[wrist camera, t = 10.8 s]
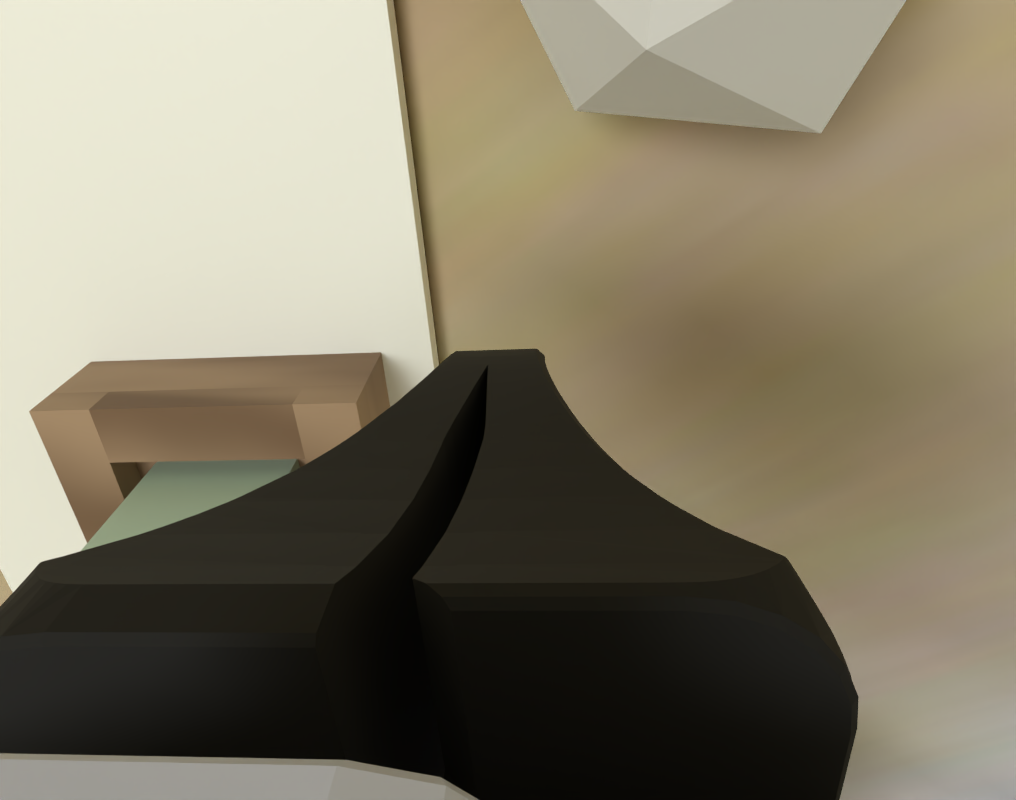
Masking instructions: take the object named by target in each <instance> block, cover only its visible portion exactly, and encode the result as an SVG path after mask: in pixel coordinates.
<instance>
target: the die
mask: <svg viewBox="0 0 1016 800" xmlns="http://www.w3.org/2000/svg"><path fill="white" fill-rule="evenodd" d="M520 1H521V3H522V5H523V7H524V9H525V11H526V13H527V15H528V17H529V19H530V21H531V23H532V25H533V27H534V29H535V31H536V33H537V35H538V37H539V39H540V41H541V43H542V45H543V47H544V49H545V51H546V53H547V55H548V57H549V59H550V61H551V63H552V65H553V67H554V69H555V72H556V74H557V76H558V78H559V80H560V82H561V84H562V86H563V88H564V90H565V92H566V94H567V96H568V98H569V100H570V102H571V104H572V106H573V108H574V110H575V111H583V112H594V113H605V114H616V115H626V116H637V117H648V118H659V119H670V120H681V121H691V122H702V123H713V124H724V125H735V126H746V127H757V128H767V129H778V130H789V131H800V132H811V133H821V132H822V131H823V129H824V128H825V126H826V125H827V123H828V122H829V120H830V118H831V117H832V115H833V114H834V112H835V111H836V109H837V108H838V106H839V104H840V103H841V101H842V100H843V98H844V97H845V95H846V94H847V92H848V90H849V89H850V87H851V86H852V84H853V83H854V81H855V79H856V78H857V76H858V75H859V73H860V72H861V70H862V69H863V67H864V65H865V64H866V62H867V61H868V59H869V58H870V56H871V55H872V53H873V51H874V50H875V48H876V47H877V45H878V44H879V42H880V41H881V39H882V37H883V36H884V34H885V33H886V31H887V30H888V28H889V26H890V25H891V23H892V22H893V20H894V19H895V17H896V16H897V14H898V12H899V11H900V9H901V8H902V6H903V5H904V3H905V2H906V0H520Z"/></svg>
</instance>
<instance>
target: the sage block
mask: <svg viewBox="0 0 1016 800" xmlns="http://www.w3.org/2000/svg"><path fill="white" fill-rule="evenodd" d="M298 468H300V466H299V462H298V459H273V460H221V461H168V462H156V463H155V464H154V466H153V467H152V468H151V469H150V470H149V471H148V473H147V474H146V475H145V476H144V477H143V478H142V480H141V481H140V482H139V483H138V484H137V486H136V487H135V488H134V489H133V490H132V491H131V493H130V494H129V495H128V496H127V497H126V498H125V500H124V501H123V502H122V503H121V504H120V505H119V507H118V508H117V509H116V510H115V511H114V512H113V514H112V515H111V516H110V517H109V518H108V520H107V521H106V522H105V523H104V524H103V525H102V527H101V528H100V529H99V530H98V531H97V532H96V534H95V535H94V536H93V537H92V538H91V539H90V541H89V542H88V543H87V544H86V545H85V546H84V548H83V549H82V550H81V551H83V550H87V549H90V548H94V547H97V546H101V545H104V544H108V543H111V542H115V541H118V540H122V539H125V538H129V537H132V536H136V535H139V534H142V533H145V532H148V531H151V530H154V529H157V528H160V527H163V526H166V525H169V524H171V523H174V522H177V521H180V520H183V519H185V518H188V517H191V516H194V515H196V514H199V513H202V512H204V511H207V510H209V509H212V508H214V507H217V506H219V505H222V504H224V503H227V502H229V501H231V500H234V499H236V498H238V497H241V496H243V495H245V494H247V493H249V492H251V491H253V490H255V489H257V488H259V487H261V486H264V485H266V484H268V483H270V482H272V481H274V480H276V479H278V478H280V477H282V476H284V475H286V474H289V473H291V472H293V471H295V470H296V469H298Z"/></svg>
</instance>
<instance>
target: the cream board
mask: <svg viewBox="0 0 1016 800" xmlns="http://www.w3.org/2000/svg"><path fill="white" fill-rule="evenodd" d="M375 352H381V354H382V360H383V366H384V372H385V378H386V384H387V390H388V397H389V403H390V407H391V406H392V405H394V404H395V403H396V402H397V401H399V400H400V399H401V398H402V397H403V396H404V395H406V394H407V393H408V392H409V391H410V390H411V389H413V388H414V387H415V386H416V385H417V384H418V383H419V382H421V381H422V380H423V379H424V378H425V377H426V376H427V375H429V374H430V373H431V372H432V371H433V370H434V369H435V368H436V367H437V366H439V361H438V353H437V345H436V337H435V329H434V321H433V313H432V305H431V297H430V289H429V281H428V273H427V265H426V257H425V249H424V241H423V233H422V225H421V217H420V209H419V201H418V193H417V185H416V177H415V169H414V161H413V153H412V145H411V137H410V129H409V121H408V113H407V105H406V97H405V89H404V81H403V73H402V65H401V57H400V49H399V41H398V33H397V25H396V17H395V9H394V1H393V0H0V569H1V571H2V573H3V575H4V577H5V579H6V581H7V583H8V585H9V586H10V588H11V590H12V592H14V591H15V590H16V589H17V588H18V587H19V585H20V584H21V583H22V582H23V581H24V580H25V579H26V578H27V577H28V575H29V574H30V573H31V572H32V571H33V570H34V569H35V568H36V566H37V565H38V564H39V563H40V562H42V561H46V560H50V559H54V558H58V557H62V556H66V555H69V554H73V553H76V552H80V551H81V550H82V549H83V548H84V546H85V545H86V544H87V542H86V539H85V537H84V535H83V532H82V530H81V528H80V526H79V523H78V521H77V519H76V517H75V514H74V512H73V510H72V508H71V505H70V503H69V501H68V499H67V496H66V494H65V492H64V489H63V487H62V485H61V483H60V480H59V478H58V476H57V474H56V471H55V469H54V467H53V465H52V462H51V460H50V458H49V456H48V453H47V451H46V449H45V446H44V444H43V442H42V440H41V437H40V435H39V433H38V431H37V428H36V426H35V424H34V422H33V419H32V417H31V415H30V413H29V411H30V410H31V409H32V408H34V407H35V406H36V405H37V404H39V403H40V402H41V401H42V400H44V399H45V398H46V397H47V396H49V395H50V394H51V393H52V392H54V391H55V390H56V389H57V388H59V387H60V386H61V385H62V384H64V383H65V382H66V381H67V380H69V379H70V378H71V377H72V376H74V375H75V374H76V373H77V372H79V371H80V370H81V369H83V368H84V367H85V366H86V365H88V364H89V363H90V362H95V361H126V360H157V359H189V358H220V357H251V356H282V355H313V354H344V353H375Z"/></svg>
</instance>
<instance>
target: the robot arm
mask: <svg viewBox="0 0 1016 800" xmlns="http://www.w3.org/2000/svg"><path fill="white" fill-rule="evenodd" d="M857 717H858V695H857V692H856V690H855V687H854V685H853V682H852V679H851V675H850V672H849V669H848V667H847V664H846V662H845V659H844V657H843V654H842V652H841V650H840V648H839V645H838V643H837V641H836V639H835V637H834V635H833V633H832V631H831V629H830V627H829V626H828V624H827V622H826V620H825V619H824V617H823V615H822V614H821V612H820V610H819V609H818V607H817V605H816V604H815V602H814V600H813V599H812V597H811V595H810V594H809V592H808V591H807V589H806V587H805V586H804V584H803V583H802V581H801V579H800V578H799V576H798V575H797V573H796V571H795V570H794V568H793V567H792V565H791V564H790V562H789V561H788V559H787V558H786V557H784V556H782V555H780V554H777V553H775V552H772V551H770V550H768V549H765V548H763V547H761V546H758V545H756V544H753V543H751V542H749V541H746V540H744V539H741V538H739V537H737V536H734V535H732V534H729V533H727V532H725V531H722V530H720V529H718V528H716V527H714V526H712V525H710V524H708V523H706V522H704V521H702V520H700V519H699V518H697V517H695V516H693V515H691V514H689V513H687V512H686V511H684V510H682V509H680V508H678V507H677V506H675V505H673V504H672V503H670V502H669V501H667V500H665V499H664V498H662V497H660V496H659V495H657V494H656V493H654V492H653V491H652V490H650V489H649V488H647V487H646V486H645V485H643V484H642V483H641V482H639V481H638V480H636V479H635V478H634V477H632V476H631V475H629V474H628V473H627V472H626V471H625V470H623V469H622V468H621V467H620V466H619V465H618V464H617V463H616V462H615V461H614V460H613V459H612V458H611V457H610V456H609V455H608V454H607V453H606V452H605V451H604V450H603V449H602V448H601V447H600V446H599V445H598V444H597V443H596V442H595V441H594V440H593V438H592V437H591V436H590V435H589V434H588V432H587V431H586V430H585V429H584V427H583V426H582V425H581V424H580V423H579V421H578V420H577V419H576V417H575V416H574V415H573V413H572V412H571V410H570V409H569V407H568V406H567V404H566V403H565V401H564V400H563V398H562V396H561V395H560V393H559V392H558V390H557V388H556V386H555V385H554V383H553V381H552V379H551V377H550V375H549V372H548V370H547V367H546V364H545V356H544V355H543V354H542V353H541V352H540V351H539V350H538V349H515V350H483V351H455V352H454V353H453V354H451V355H450V356H449V357H448V358H446V359H445V360H444V361H443V362H442V363H441V364H440V365H439V366H437V367H436V368H435V369H434V370H433V371H432V372H431V373H430V374H429V375H427V376H426V377H425V378H424V379H423V380H422V381H421V382H419V383H418V384H417V385H416V386H415V387H414V388H413V389H411V390H410V391H409V392H408V393H407V394H406V395H404V396H403V397H402V398H401V399H400V400H399V401H397V402H396V403H395V404H394V405H392V406H391V407H390V408H388V409H387V410H386V411H384V412H383V413H382V414H380V415H379V416H378V417H376V418H375V419H374V420H373V421H371V422H370V423H369V424H367V425H366V426H365V427H363V428H362V429H361V430H359V431H358V432H357V433H355V434H354V435H352V436H351V437H349V438H348V439H346V440H345V441H343V442H342V443H340V444H339V445H337V446H336V447H334V448H333V449H331V450H329V451H328V452H326V453H324V454H323V455H321V456H319V457H317V458H316V459H314V460H312V461H311V462H309V463H307V464H305V465H304V466H302V467H300V468H298V469H296V470H295V471H293V472H291V473H289V474H286V475H284V476H282V477H280V478H278V479H276V480H274V481H272V482H270V483H268V484H266V485H264V486H261V487H259V488H257V489H255V490H253V491H251V492H249V493H247V494H245V495H243V496H241V497H238V498H236V499H234V500H231V501H229V502H227V503H224V504H222V505H219V506H217V507H214V508H212V509H209V510H207V511H204V512H202V513H199V514H196V515H194V516H191V517H188V518H185V519H183V520H180V521H177V522H174V523H171V524H169V525H166V526H163V527H160V528H157V529H154V530H151V531H148V532H145V533H142V534H139V535H136V536H132V537H129V538H125V539H122V540H118V541H115V542H111V543H108V544H104V545H101V546H97V547H94V548H90V549H87V550H83V551H80V552H76V553H73V554H69V555H66V556H62V557H58V558H54V559H50V560H46V561H42V562H40V563H39V564H38V565H37V566H36V568H35V569H34V570H33V571H32V572H31V573H30V574H29V575H28V577H27V578H26V579H25V580H24V581H23V582H22V583H21V584H20V585H19V587H18V588H17V589H16V590H15V591H14V592H13V593H12V594H11V595H10V597H9V598H8V599H7V600H6V601H5V602H4V603H3V604H2V605H1V606H0V800H839V799H840V795H841V791H842V787H843V783H844V779H845V775H846V771H847V766H848V762H849V758H850V754H851V750H852V746H853V742H854V738H855V734H856V730H857Z"/></svg>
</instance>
